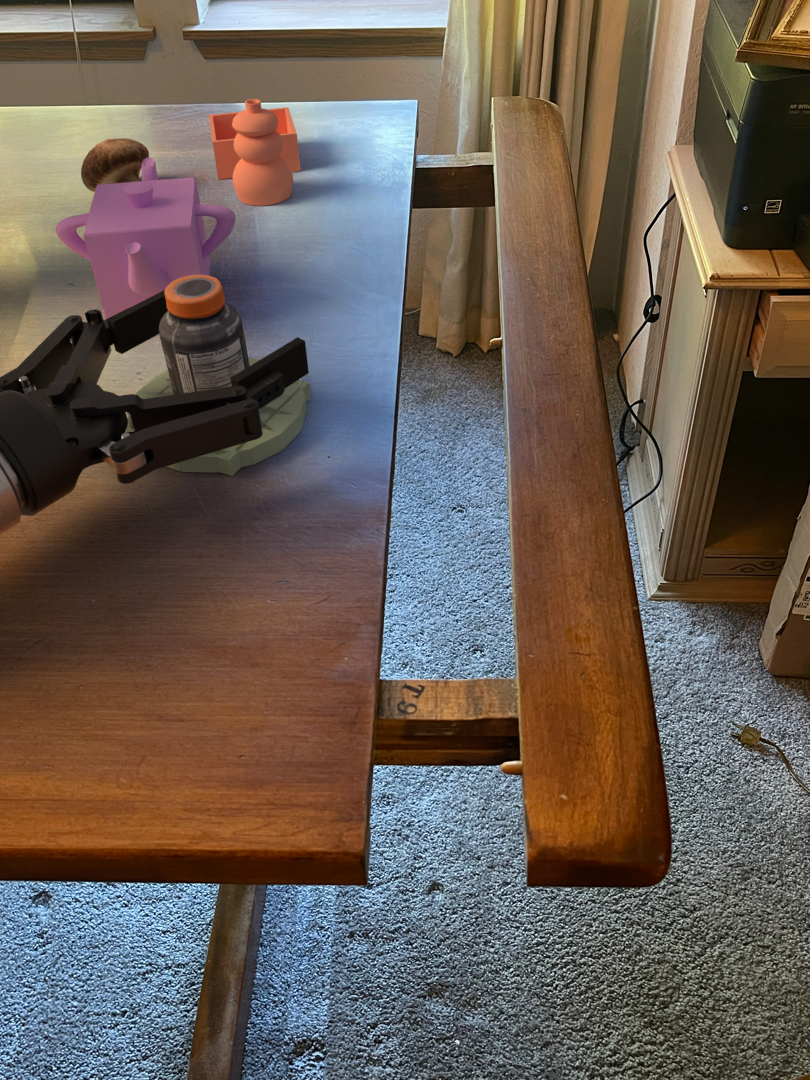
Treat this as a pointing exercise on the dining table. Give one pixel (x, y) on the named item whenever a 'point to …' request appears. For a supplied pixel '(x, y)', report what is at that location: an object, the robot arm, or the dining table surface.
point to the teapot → (145, 236)
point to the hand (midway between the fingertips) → (239, 327)
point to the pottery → (256, 152)
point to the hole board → (278, 431)
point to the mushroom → (113, 162)
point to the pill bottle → (201, 336)
